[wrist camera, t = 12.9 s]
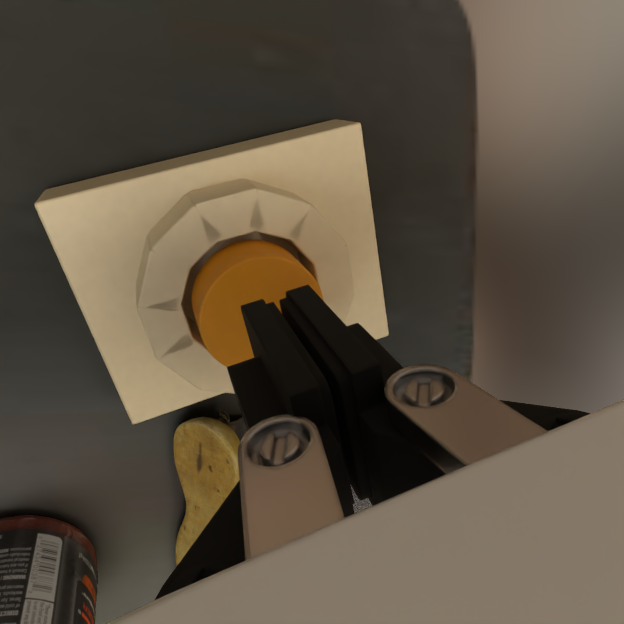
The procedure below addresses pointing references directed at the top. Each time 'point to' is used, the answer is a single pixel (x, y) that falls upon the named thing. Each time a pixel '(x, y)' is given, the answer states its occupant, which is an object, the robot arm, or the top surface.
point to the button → (242, 293)
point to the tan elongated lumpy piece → (205, 470)
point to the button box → (210, 249)
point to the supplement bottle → (46, 572)
